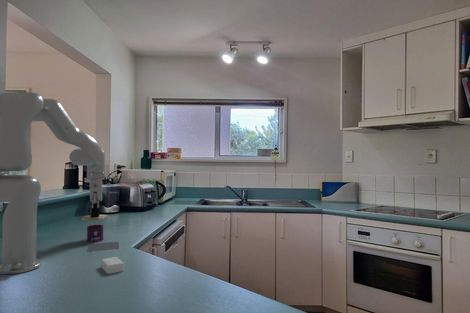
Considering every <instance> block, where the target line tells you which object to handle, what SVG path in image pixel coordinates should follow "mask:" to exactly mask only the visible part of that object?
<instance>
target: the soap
mask: <svg viewBox="0 0 470 313" xmlns="http://www.w3.org/2000/svg"><path fill="white" fill-rule="evenodd" d="M100 262H101V266H100V267H101V268H102V269H103V271H104V272H105V273H106V274H107V275H110V274H116V273H120V272H124V271H125V263H124V262H123V261H122V260H121V259H120V258H119V257H118V256H113V257H109V258H103V259H101V261H100Z"/></svg>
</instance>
